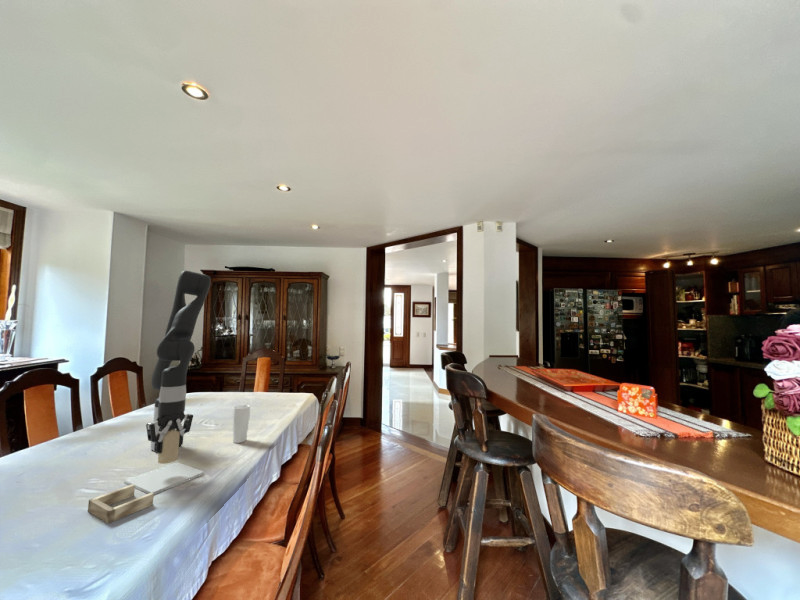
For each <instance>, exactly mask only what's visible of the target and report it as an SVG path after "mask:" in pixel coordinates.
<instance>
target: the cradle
mask: <svg viewBox="0 0 800 600" xmlns="http://www.w3.org/2000/svg"><path fill="white" fill-rule="evenodd" d="M135 489H136V488H135V485H134V484H132V485H127V486H124V487H121V488H119V489H115V490H112V491H109V492H107V493H103V494H102V495H99V496H95V497H93V498H91V499H88V503H87V512H88V513H90V514H92V515H93V516H95V517H96V518H98V519H100V520H101V521H103V522H105V523H106V524H111V523H113V522H116V521H118V520H121V519H124V518H126V517H127V516H129V515H132V514H134V513H136V512H139V511H142V510H144V509H146V508H148V507H151V506H153V504H154V496H155V494H153V493H149V494H147V493H146V494H144V495H141V496H140V497H137V498H134V499H132V500H129V501H127V502H125V503H122V504H119V505H117V506H114V507H112V506H110V505H113V504H115V503H118V502H121V501H123V500H126V499H129V498H132V497H134V496H135Z"/></svg>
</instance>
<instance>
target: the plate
mask: <svg viewBox="0 0 800 600" xmlns="http://www.w3.org/2000/svg"><path fill="white" fill-rule="evenodd" d="M202 474H203V475H204V474H205V471H203V470H200V469H197V468H194V467H191V466H188V465H186V464H183V463H180V462H177V461H175V462H174V463H173V462H172V463H169V464H168V465H167V464H166V465H164V466H162V467H160V468H156V469H153V470H151V471H147V472H145V473H141V474H139V475H135V476H133V477H130V478H126V479H124V480H123V481H124V482H123V483H124V484H126V485H127V486H129V485H132V484H134V485H135V489H137V490H139V491H141V492H143V493H146V495H147V494H149V493H153V494H154V495H156V494H159V493H161V492H163V490H164V491H166V490H169V489H171V488H174V487H176V486H178V485H177V484H179V485H180V483H181V484H183V483H182V482H184V483H185V481H186V482H188V481H190V480H189V479H191V480H193V479H195V477H196V478H198V477H200V476H199V475H201V476H203V475H202ZM197 476H198V477H197ZM192 478H193V479H192ZM187 480H188V481H187ZM175 485H176V486H175ZM173 486H174V487H173ZM170 487H171V488H170ZM168 488H169V489H168ZM165 489H166V490H165ZM160 491H161V492H160ZM158 492H159V493H158Z"/></svg>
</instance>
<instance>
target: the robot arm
mask: <svg viewBox="0 0 800 600" xmlns="http://www.w3.org/2000/svg"><path fill="white" fill-rule="evenodd" d="M176 284H177V285H176V289H175V294H174V300H173V304H172V305H173V306H172V309H171V313H170V316H169V318H168V322H167V325H166V329H165V334H164V337H163V338H162V340H160V342H159V344H158V346H157V350H156V355H157V358H158V359H157V361H156V365H155V367H154V370H153V372H152V376H151V387H152V388H153V389H154V390H156V391H159V393H158V394H159V395H158V397H157V398H156V399H155V401H154V409H153V411H154V412H153V421H152V422H147V423H146V425H145V426H146V433H147V440H148V442H150V450H151V451H152V450H153V452H155V453H156V454H160V453H162V443H163V442H162V439H163V437H164V435H166V433H167V431H169V430H171V429H175V430H176V431H178V432H179V433H180V437H179V448H182V445H183V444H184V435H185V434H186V433H190V431H191V428H192V427H191V426H192V423H193V418H194V414H192V413H186V414H185V411H186V398H187V397H186V396H187V375H188V374H187V373H188V369H189V366H190V363H191V361H192V358H193V356H194V353H195V349H196V348H195V345H194V343H193V341H191V340H192V336H193V334H194V330H195V327H196V323H197V321H198V317H199V315H200V312H201V311H202V309H203V306H204V304H205V301H206V299H207V296H208V294H209V292H210V288H211V284H212V279H211V276H209V275H208V274H204V273H199V272H194V271H190V270H186V269H185V270H182V271H181V272H180V274H179V276H178V279H177V283H176ZM185 295H190V296H196V297H195V299H194V300H192V301H191V302H190V303H188V304H187V303H186V297H185ZM174 361H178V362H179V364H178V365H174V366H173V365H172V366H171V363H172V362H174ZM182 422H183V423H182ZM182 424H183V425H182Z"/></svg>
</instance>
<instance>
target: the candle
mask: <svg viewBox="0 0 800 600" xmlns="http://www.w3.org/2000/svg"><path fill="white" fill-rule="evenodd" d="M179 437H180V433H179V432H178V431H176V430H175V429H171V430H169V431H167V433H166V435H164V437H163V439H162V442H163V443H162V453H160V454H158V453H157V454H158V456H157V463H158V464H163V465H164V464H172V463H173V462H174V463H175V462H177V460H178V459H179V450H180V449H179V448H180V447H179Z"/></svg>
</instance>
